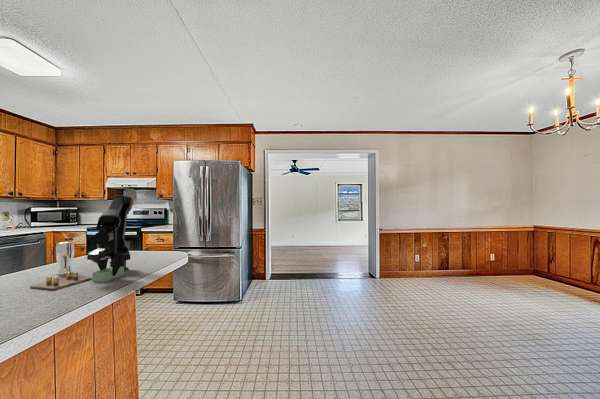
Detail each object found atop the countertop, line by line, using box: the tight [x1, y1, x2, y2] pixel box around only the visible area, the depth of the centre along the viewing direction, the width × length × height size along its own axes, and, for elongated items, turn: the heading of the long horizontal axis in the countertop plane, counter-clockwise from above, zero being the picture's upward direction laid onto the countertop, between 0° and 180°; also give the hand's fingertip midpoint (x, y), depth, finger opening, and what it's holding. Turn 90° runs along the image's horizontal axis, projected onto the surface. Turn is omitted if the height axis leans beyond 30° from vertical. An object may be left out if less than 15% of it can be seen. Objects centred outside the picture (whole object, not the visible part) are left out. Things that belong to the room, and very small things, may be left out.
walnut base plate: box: [29, 271, 92, 292], centre depth 119 cm, size 16×12×4 cm
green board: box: [91, 266, 125, 283], centre depth 128 cm, size 12×6×4 cm, turn 174°
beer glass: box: [55, 240, 75, 276], centre depth 135 cm, size 7×7×15 cm
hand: (108, 275), depth 128 cm, fingers closed on green board, 6 cm apart
